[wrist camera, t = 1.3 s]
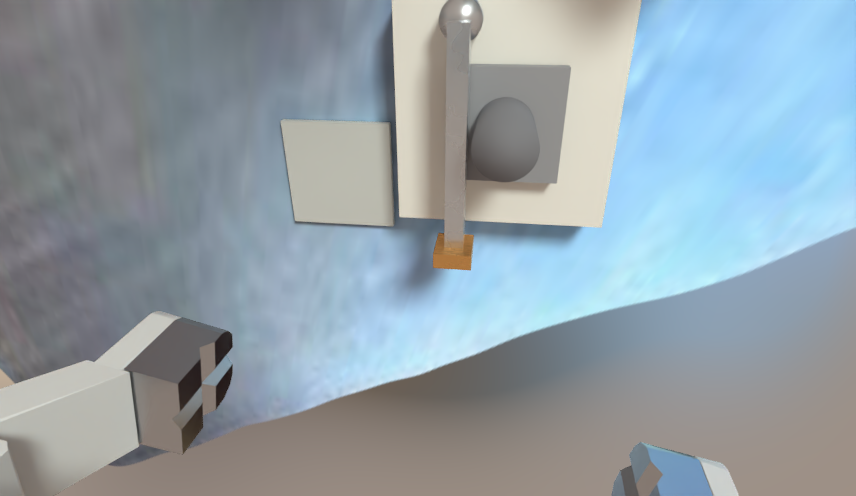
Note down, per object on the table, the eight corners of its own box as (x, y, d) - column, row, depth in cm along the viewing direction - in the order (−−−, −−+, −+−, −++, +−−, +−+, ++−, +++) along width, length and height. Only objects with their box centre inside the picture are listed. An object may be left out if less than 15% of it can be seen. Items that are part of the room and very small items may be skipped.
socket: (406, 200, 38) (399, 217, 36) (400, -4, 32) (391, -2, 29) (594, 209, 37) (601, 227, 34) (629, -4, 30) (642, -2, 28)
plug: (452, 158, 36) (439, 207, 28) (454, 56, 33) (439, 80, 25) (551, 161, 36) (564, 214, 28) (563, 57, 32) (582, 82, 24)
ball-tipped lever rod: (442, -6, 28) (433, -3, 25) (484, -6, 28) (481, -3, 24) (440, 237, 36) (433, 267, 32) (474, 238, 36) (470, 270, 32)
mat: (297, 218, 40) (295, 221, 40) (283, 119, 37) (280, 120, 36) (394, 223, 39) (393, 226, 39) (390, 122, 36) (389, 124, 35)
